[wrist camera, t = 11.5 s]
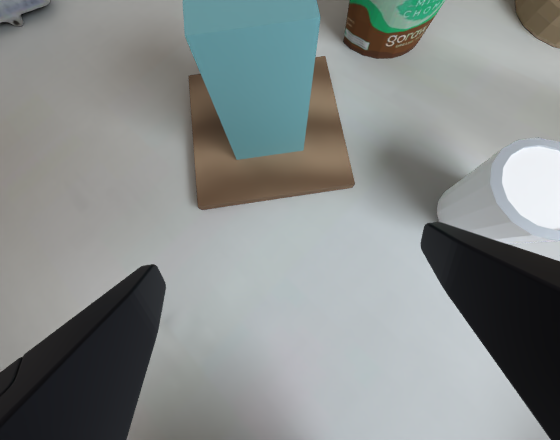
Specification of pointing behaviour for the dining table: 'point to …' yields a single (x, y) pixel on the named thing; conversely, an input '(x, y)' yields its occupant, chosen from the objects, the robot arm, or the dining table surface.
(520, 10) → the oil lamp
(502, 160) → the white short cylinder
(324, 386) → the dining table surface
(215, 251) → the dining table surface
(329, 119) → the stub base
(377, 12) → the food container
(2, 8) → the grey storage box
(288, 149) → the teal square pillar
